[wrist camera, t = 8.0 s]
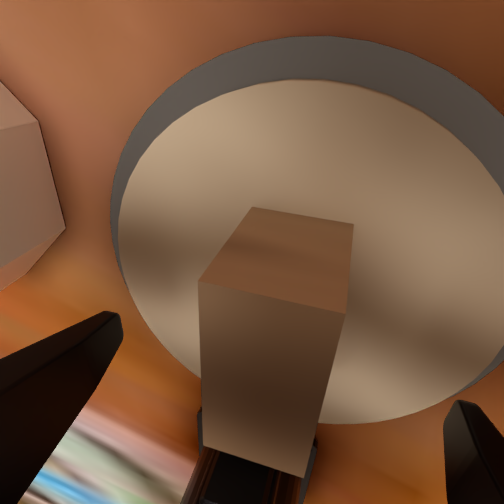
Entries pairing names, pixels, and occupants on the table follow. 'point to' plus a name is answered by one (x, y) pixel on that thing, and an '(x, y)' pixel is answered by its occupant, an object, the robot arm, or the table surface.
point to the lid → (314, 261)
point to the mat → (332, 68)
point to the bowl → (24, 192)
